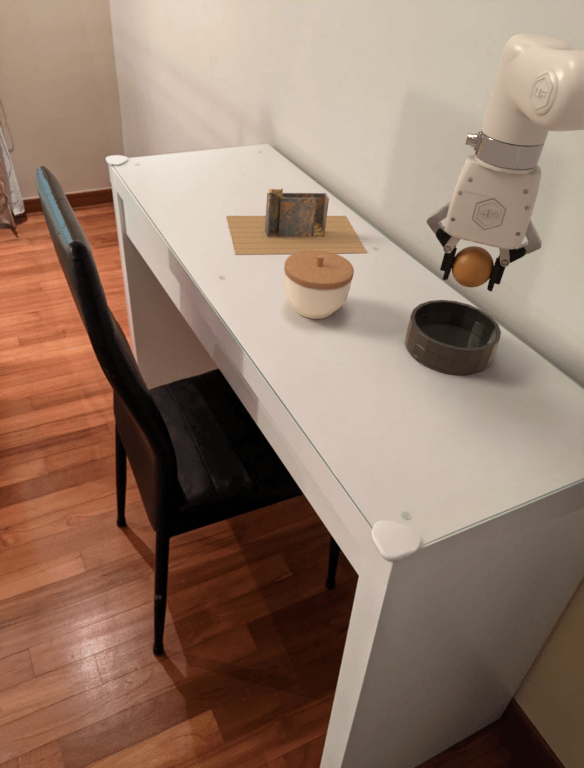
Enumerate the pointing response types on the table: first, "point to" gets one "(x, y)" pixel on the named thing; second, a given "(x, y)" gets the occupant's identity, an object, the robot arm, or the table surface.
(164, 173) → the table surface
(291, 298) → the trinket box
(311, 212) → the architectural model on board
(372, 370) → the table surface
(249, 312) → the table surface
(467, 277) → the orange ball
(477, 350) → the bowl
